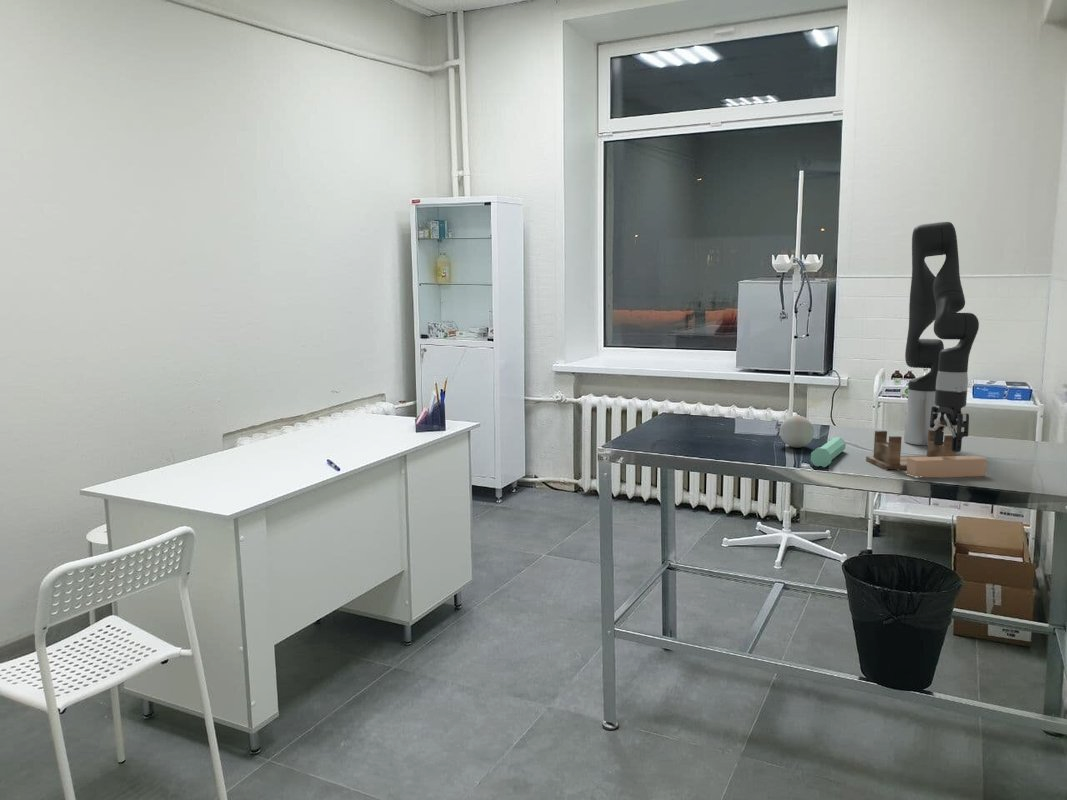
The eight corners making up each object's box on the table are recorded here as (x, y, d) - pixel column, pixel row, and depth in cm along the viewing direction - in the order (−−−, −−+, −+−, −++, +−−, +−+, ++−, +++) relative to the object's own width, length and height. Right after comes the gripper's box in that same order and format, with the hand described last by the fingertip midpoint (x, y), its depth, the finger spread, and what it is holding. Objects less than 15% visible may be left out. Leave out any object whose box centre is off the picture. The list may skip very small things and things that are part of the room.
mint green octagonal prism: (833, 431, 257) (815, 443, 236) (852, 440, 254) (835, 453, 233) (825, 447, 259) (806, 462, 238) (843, 456, 256) (825, 472, 235)
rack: (866, 460, 243) (867, 430, 242) (938, 459, 244) (941, 428, 243) (886, 470, 231) (888, 438, 230) (962, 468, 233) (965, 436, 231)
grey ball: (815, 451, 256) (816, 419, 254) (780, 449, 258) (781, 418, 256) (811, 444, 266) (812, 413, 264) (777, 443, 268) (779, 412, 266)
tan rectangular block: (906, 475, 226) (907, 457, 225) (975, 473, 228) (976, 455, 228) (914, 479, 222) (916, 460, 221) (984, 476, 224) (986, 458, 224)
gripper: (923, 385, 228) (919, 443, 231) (952, 391, 214) (948, 454, 217) (949, 385, 229) (945, 443, 231) (981, 391, 215) (976, 453, 217)
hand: (947, 448), depth 224 cm, fingers open, 8 cm apart
